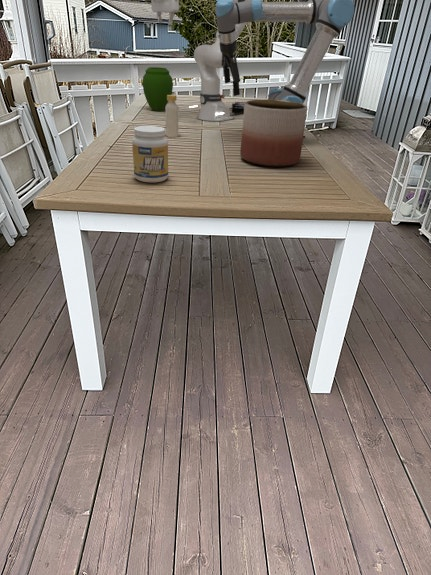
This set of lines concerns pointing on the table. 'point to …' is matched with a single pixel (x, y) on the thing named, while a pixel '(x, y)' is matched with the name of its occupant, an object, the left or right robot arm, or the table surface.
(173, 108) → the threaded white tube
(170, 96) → the cap
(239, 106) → the sign
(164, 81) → the vase
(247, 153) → the planter
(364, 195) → the table surface
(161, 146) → the supplement tub
